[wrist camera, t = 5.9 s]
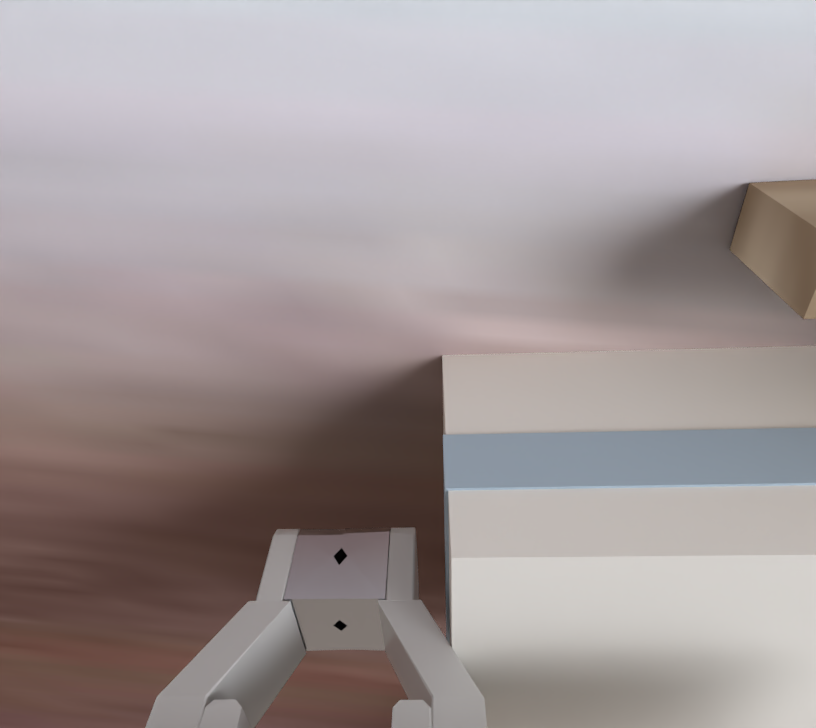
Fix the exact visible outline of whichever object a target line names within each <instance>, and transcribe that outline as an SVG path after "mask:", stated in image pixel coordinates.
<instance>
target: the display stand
mask: <svg viewBox="0 0 816 728" xmlns="http://www.w3.org/2000/svg"><path fill="white" fill-rule="evenodd" d="M730 251H731V252H732V253H733V254H734V255H736V256H737V257H738V258H739V259H740V260H741V261H742V262H743V263H744V264H745V265H746V266H747V267H748V268H749V269H750V270H752V271H753V272H754V273H755V274H756V275H757V276H758V277H759V278H760V279H761V280H762V281H763V282H764V283H765V284H767V285H768V286H769V287H770V288H771V289H772V290H773V291H774V292H775V293H776V294H777V295H778V296H779V297H780V298H781V299H783V300H784V301H785V302H786V303H787V304H788V305H789V306H790V307H791V308H792V309H793V310H794V311H795V312H796V313H797V314H799V315H800V316H801V317H802V318H803V319H816V180H797V181H778V182H758V183H749V186H748V189H747V193H746V196H745V199H744V203H743V206H742V209H741V213H740V216H739V220H738V223H737V226H736V230H735V233H734V237H733V240H732V243H731V247H730Z"/></svg>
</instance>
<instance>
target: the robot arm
mask: <svg viewBox="0 0 816 728" xmlns="http://www.w3.org/2000/svg"><path fill="white" fill-rule="evenodd" d="M345 649H346V650H385V652H386V655H387V657H388V659H389V661H390V663H391V665H392V667H393V669H394V671H395V673H396V675H397V677H398V679H399V681H400V683H401V685H402V687H403V689H404V691H405V693H406V695H407V697H408V699H409V700H399V701H398V702H397V704H396V705H395V706H394V707H393V711H392V728H487V722H486V710H485V698H484V697H483V695H482V694H481V692H480V691H479V689H478V687H477V686H476V684H475V683H474V681H473V680H472V678H471V677H470V675H469V673H468V672H467V670H466V669H465V667H464V666H463V664H462V663H461V661H460V659H459V658H458V656H457V655H456V653H455V652H454V650H453V649H452V647H451V645H450V644H449V642H448V641H447V639H446V638H445V636H444V635H443V633H442V631H441V630H440V628H439V627H438V625H437V624H436V622H435V621H434V619H433V618H432V616H431V614H430V613H429V611H428V610H427V608H426V607H425V605H424V604H423V602H422V600H419V579H418V556H417V541H416V529H415V527H406V528H391V527H379V528H345V529H277V530H276V532H275V534H274V535H273V537H272V541H271V545H270V549H269V552H268V556H267V560H266V564H265V567H264V571H263V575H262V578H261V582H260V586H259V590H258V593H257V597H256V601H248V602H247V603H246V604H245V605H244V606H243V607H242V608H241V609H240V610H239V611H238V612H237V614H236V615H235V616H234V617H233V618H232V619H231V620H230V621H229V622H228V623H227V624H226V625H225V626H224V627H223V628H222V629H221V630H220V631H219V632H218V633H217V634H216V635H215V637H214V638H213V639H212V640H211V641H210V642H209V643H208V644H207V645H206V646H205V647H204V648H203V649H202V650H201V651H200V652H199V653H198V654H197V655H196V656H195V657H194V658H193V660H192V661H191V662H190V663H189V664H188V665H187V666H186V667H185V668H184V669H183V670H182V671H181V672H180V673H179V674H178V675H177V676H176V677H175V678H174V679H173V680H172V681H171V683H170V684H169V685H168V686H167V687H166V688H165V689H164V690H163V691H162V692H161V693H160V694H159V695H158V696H157V698H156V700H155V703H154V706H153V708H152V711H151V714H150V717H149V719H148V722H147V725H146V727H145V728H255V726H256V725H257V723H258V722H259V720H260V719H261V718H262V716H263V715H264V713H265V712H266V710H267V709H268V708H269V706H270V705H271V703H272V702H273V700H274V699H275V698H276V696H277V695H278V693H279V692H280V690H281V689H282V688H283V686H284V685H285V683H286V682H287V680H288V679H289V677H290V676H291V675H292V673H293V672H294V670H295V669H296V667H297V666H298V665H299V663H300V662H301V660H302V659H303V657H304V656H305V655H306V651H312V650H345Z"/></svg>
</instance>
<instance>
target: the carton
mask: <svg viewBox="0 0 816 728" xmlns="http://www.w3.org/2000/svg"><path fill="white" fill-rule="evenodd" d="M442 377H443V472H444V533H445V593H446V639H447V641H448V642H449V644H450V645H451V647H452V649H453V650H454V652H455V653H456V655H457V656H458V658H459V659H460V661H461V663H462V664H463V666H464V667H465V669H466V670H467V672H468V673H469V675H470V677H471V678H472V680H473V681H474V683H475V684H476V686H477V687H478V689H479V691H480V692H481V694H482V695H483V697H484V698H485V710H486V722H487V728H816V346H786V347H747V348H707V349H668V350H629V351H590V352H551V353H512V354H472V355H442Z"/></svg>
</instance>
